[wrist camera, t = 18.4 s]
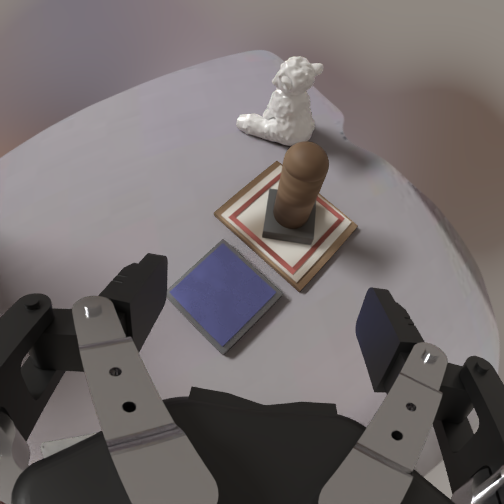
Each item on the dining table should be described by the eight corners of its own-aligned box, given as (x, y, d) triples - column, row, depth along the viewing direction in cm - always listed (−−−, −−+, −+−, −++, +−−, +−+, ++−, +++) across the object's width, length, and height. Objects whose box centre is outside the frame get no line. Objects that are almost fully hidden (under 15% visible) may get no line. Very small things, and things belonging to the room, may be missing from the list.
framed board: (214, 215, 33) (213, 211, 33) (276, 163, 36) (277, 159, 36) (299, 292, 31) (301, 289, 30) (356, 228, 34) (358, 224, 33)
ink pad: (165, 296, 30) (162, 292, 28) (223, 242, 32) (223, 236, 31) (223, 355, 28) (222, 354, 27) (281, 296, 30) (283, 291, 29)
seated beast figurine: (282, 99, 41) (293, 29, 30) (329, 132, 39) (352, 61, 28) (233, 128, 39) (233, 51, 27) (281, 166, 36) (296, 88, 25)
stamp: (261, 237, 32) (273, 169, 21) (268, 195, 34) (280, 121, 23) (310, 245, 32) (343, 181, 21) (313, 203, 34) (341, 132, 23)
